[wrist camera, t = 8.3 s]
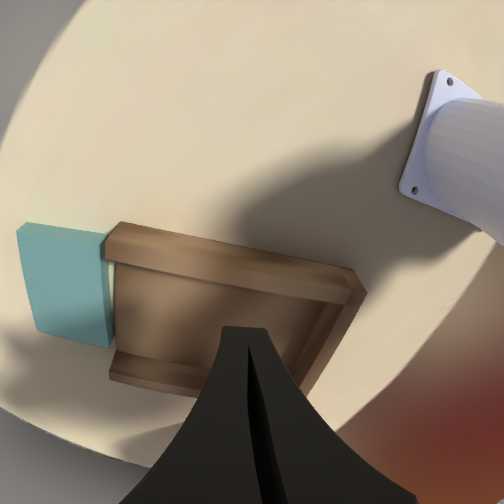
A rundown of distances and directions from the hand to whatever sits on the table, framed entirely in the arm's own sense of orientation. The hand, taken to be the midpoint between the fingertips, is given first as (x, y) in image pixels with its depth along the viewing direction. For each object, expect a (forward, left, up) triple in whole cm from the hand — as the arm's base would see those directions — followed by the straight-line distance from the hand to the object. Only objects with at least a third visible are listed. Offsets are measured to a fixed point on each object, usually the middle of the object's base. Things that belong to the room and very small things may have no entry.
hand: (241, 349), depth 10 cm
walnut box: (0, +6, -8) cm, 10 cm away
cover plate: (+10, +6, -9) cm, 15 cm away
